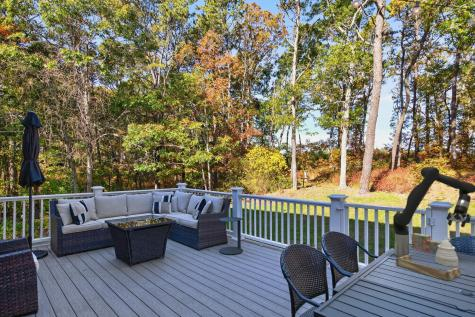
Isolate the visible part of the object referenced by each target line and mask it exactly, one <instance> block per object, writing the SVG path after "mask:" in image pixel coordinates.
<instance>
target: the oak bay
mask: <svg viewBox="0 0 475 317" xmlns="http://www.w3.org/2000/svg"><path fill="white" fill-rule="evenodd" d="M395 262H396V266H397V267H399V268H403V269H407V270H410V271H413V272H416V273H421V274H423V275H427V276H430V277H432V278H436V279H440V280H443V281H446V282H449V281H451V280H454V279H456V278H458V277H461V267H459V266H455V267H454V268H451V269H449V270H443V269H439V268H435V267H431V266H427V265H425V264H421V263H417V262H413V261H412V254H409V255H406V256H402V257H395Z"/></svg>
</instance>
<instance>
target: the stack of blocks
mask: <svg viewBox="0 0 475 317" xmlns="http://www.w3.org/2000/svg"><path fill="white" fill-rule="evenodd" d="M410 234H411V248H412V249H415V248H416V250H419V251H422V252H426V251H427V253H431V252H432V254H434V253H436V252H437V250H438V245H440V244H441V242H442V241H439V240H434V239H431V238H432V237H431V235H427V234H422V233H418V232H414V233H410Z"/></svg>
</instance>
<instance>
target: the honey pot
mask: <svg viewBox="0 0 475 317" xmlns="http://www.w3.org/2000/svg"><path fill="white" fill-rule="evenodd" d="M451 240H452V238H451V237H446V239H443V240H442V241H440V242H441V244H440V245H438V250H437V252H436V254H435V263H436V262H437V264H438V263H439V265H441V264H442V266H446V267H454V268H456V267H459V257H458V255H457V252H456V251H455V250H456V247H455V246H453V245H452V243H451V242H450V241H451Z"/></svg>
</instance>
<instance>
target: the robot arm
mask: <svg viewBox="0 0 475 317" xmlns="http://www.w3.org/2000/svg"><path fill="white" fill-rule="evenodd" d="M420 176H421V177H422V178H423V179H422V180H421V181H420V182H419V183H418V184H417V185H416V186H415V187H414V188H412V190H411V191H410V193H409V194H408V196H407V199H406V205H405V207H404V209H403V210H402V212H396V213H395V214H394V215H393V218H392V219H393V220H392V222H393V223H392V224H393V231H394V240H395V241H394V255H395V257H396V258H399V257H402V256H406V255H410V233H409V230H408V228H407V226H408V225H409V224H410V223H411V221H412V218H413V217H414V214H415V212H416V210H417V209H418V208H419V206H420V204H421V203H422V201H423V200H424V198H425V197H426V195H427V193H428V191H429V189H430V188H431V187H432V185H433V184H434V183H435V182H438V183H441V184H444V185H445V186H449V187H450V188H453V189H456V190H458V198H457V201H456V204H455V206H454V210H453V212H451V211H450V212H448V213H447V216H446V218H445V219H446V220H448V222H447V225H448V226H450V227H451V226H452V223H453V221H455V220H458V221H459V220H462V221H461V224H460V227H461V228H464V227H466V224H468V223H470V222H471V221H470V220H471V217H472V215H470V214H469V213H468V210H469V206H470V203H471V199H472V198H471V195H469V194H473V193H475V184H474V183H470V182H468V181H461V180H460V179H457V178H455V177H452V176H448V175H445V174H442V173H440V170H439V168H437V167H435V166H434V167H433V166H425V167H422V168H421V170H420Z"/></svg>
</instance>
